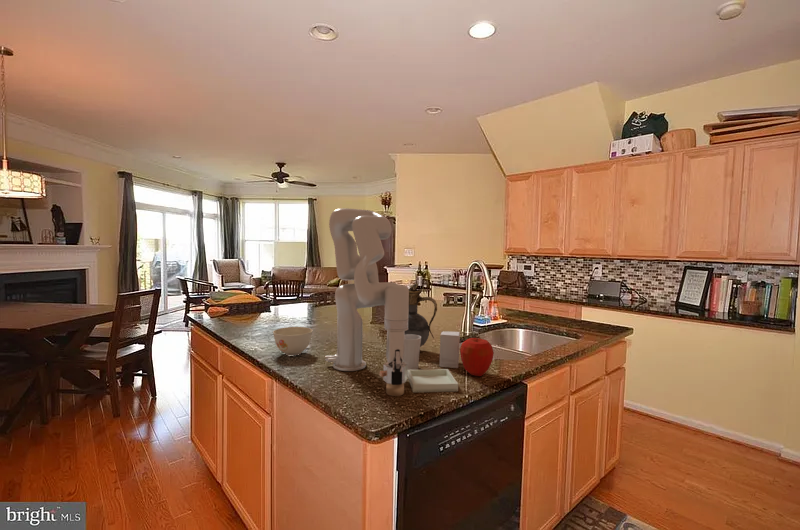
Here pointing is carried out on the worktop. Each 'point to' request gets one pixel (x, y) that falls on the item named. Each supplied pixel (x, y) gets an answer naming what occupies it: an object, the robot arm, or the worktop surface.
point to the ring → (388, 372)
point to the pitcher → (418, 315)
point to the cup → (412, 351)
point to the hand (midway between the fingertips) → (395, 379)
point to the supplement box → (449, 349)
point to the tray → (432, 380)
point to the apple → (476, 355)
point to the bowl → (292, 339)
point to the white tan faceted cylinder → (394, 388)
